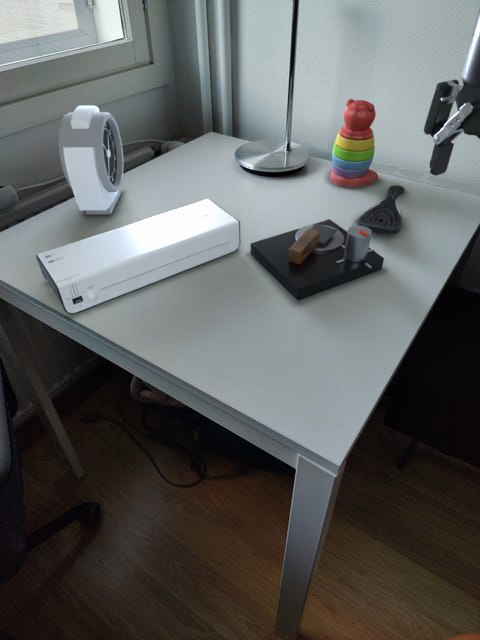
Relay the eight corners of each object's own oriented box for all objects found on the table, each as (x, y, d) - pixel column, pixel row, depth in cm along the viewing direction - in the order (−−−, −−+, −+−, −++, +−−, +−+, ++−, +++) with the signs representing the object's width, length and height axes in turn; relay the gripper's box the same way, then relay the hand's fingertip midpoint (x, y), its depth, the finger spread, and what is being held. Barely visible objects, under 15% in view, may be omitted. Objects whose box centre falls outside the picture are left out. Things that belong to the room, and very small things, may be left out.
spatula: (315, 225, 88) (316, 213, 86) (336, 231, 86) (337, 219, 84) (283, 258, 81) (283, 246, 80) (305, 266, 80) (306, 254, 78)
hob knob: (339, 254, 82) (343, 228, 79) (356, 247, 84) (360, 221, 80) (354, 265, 80) (359, 238, 76) (371, 258, 81) (377, 231, 78)
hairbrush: (419, 180, 103) (396, 227, 86) (415, 196, 106) (392, 244, 88) (382, 174, 106) (353, 218, 89) (379, 189, 108) (350, 235, 91)
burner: (324, 222, 91) (325, 220, 91) (354, 243, 85) (354, 241, 85) (286, 233, 88) (286, 232, 87) (313, 256, 82) (313, 255, 82)
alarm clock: (114, 222, 97) (92, 123, 84) (74, 223, 97) (45, 124, 84) (131, 185, 110) (114, 94, 97) (96, 185, 111) (74, 94, 97)
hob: (328, 229, 93) (330, 218, 92) (386, 272, 82) (389, 260, 80) (250, 254, 87) (250, 242, 85) (301, 304, 76) (302, 292, 74)
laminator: (210, 225, 95) (208, 198, 91) (244, 252, 88) (243, 223, 84) (45, 283, 81) (34, 253, 77) (69, 321, 74) (58, 290, 69)
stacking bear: (381, 178, 111) (396, 99, 99) (357, 193, 105) (370, 111, 93) (343, 166, 116) (353, 90, 105) (319, 179, 111) (327, 100, 99)
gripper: (432, 24, 49) (399, 172, 59) (558, 49, 39) (492, 219, 50) (481, 17, 51) (441, 160, 62) (611, 39, 42) (537, 203, 53)
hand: (464, 186), depth 56 cm, fingers open, 8 cm apart
